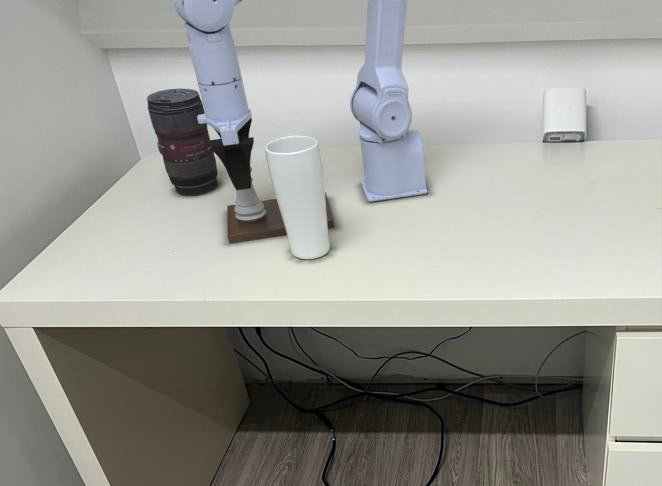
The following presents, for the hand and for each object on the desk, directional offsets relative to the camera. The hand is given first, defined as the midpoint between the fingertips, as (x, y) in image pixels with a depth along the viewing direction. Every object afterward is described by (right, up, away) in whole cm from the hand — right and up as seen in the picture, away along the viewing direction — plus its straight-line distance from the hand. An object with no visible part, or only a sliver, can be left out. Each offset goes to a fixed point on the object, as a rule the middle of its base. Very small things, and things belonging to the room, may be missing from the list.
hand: (243, 178), depth 106 cm
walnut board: (+4, -5, +5) cm, 8 cm away
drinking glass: (+11, -11, -4) cm, 16 cm away
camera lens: (-12, +3, +17) cm, 21 cm away
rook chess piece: (0, -5, +4) cm, 6 cm away
